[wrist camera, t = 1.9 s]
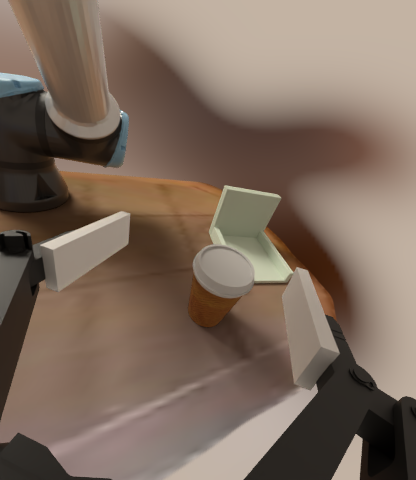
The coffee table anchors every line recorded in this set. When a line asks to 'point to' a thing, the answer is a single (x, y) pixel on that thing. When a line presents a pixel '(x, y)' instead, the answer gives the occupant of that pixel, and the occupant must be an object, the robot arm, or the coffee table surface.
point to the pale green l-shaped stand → (250, 231)
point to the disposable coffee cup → (218, 283)
